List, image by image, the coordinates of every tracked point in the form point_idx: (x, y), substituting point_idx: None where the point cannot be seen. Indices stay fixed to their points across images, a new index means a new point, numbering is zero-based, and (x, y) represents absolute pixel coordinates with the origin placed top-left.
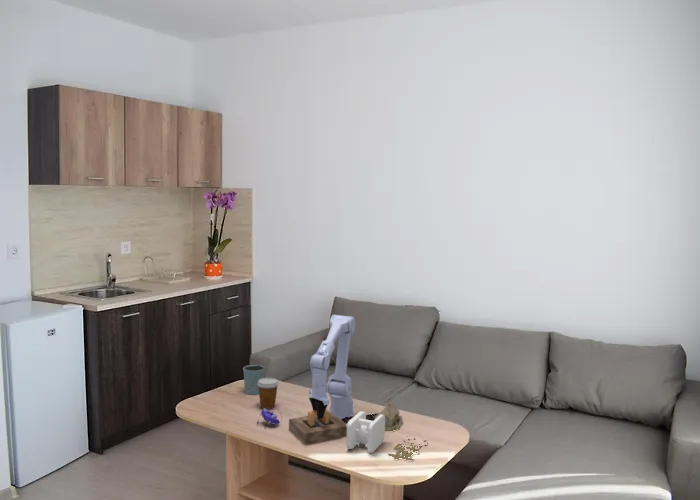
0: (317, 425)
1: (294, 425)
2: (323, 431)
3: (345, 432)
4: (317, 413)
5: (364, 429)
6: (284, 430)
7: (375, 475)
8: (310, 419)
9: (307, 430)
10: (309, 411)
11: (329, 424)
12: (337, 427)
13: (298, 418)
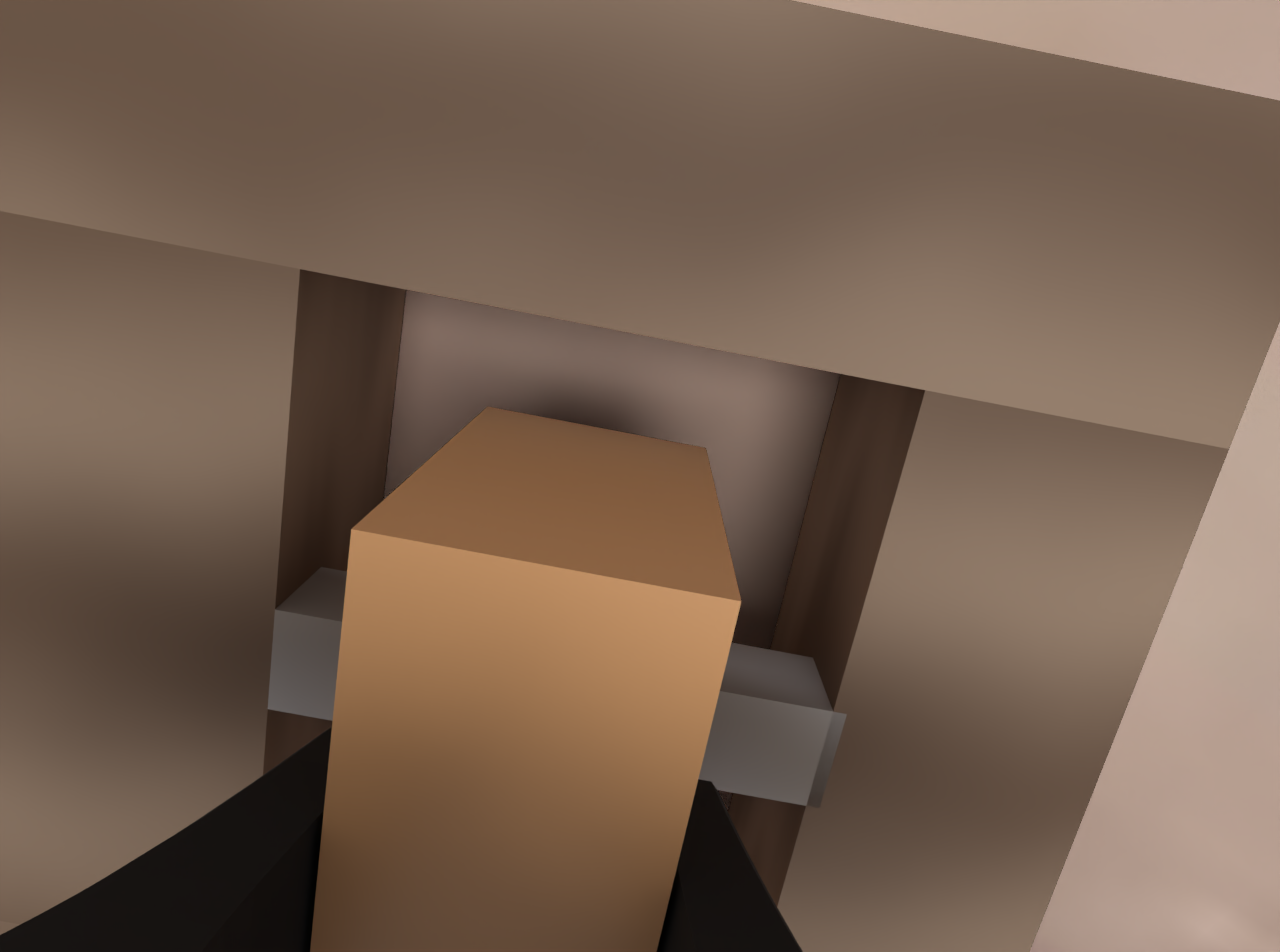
0: None
1: (871, 33)
2: (16, 488)
3: None
4: (271, 816)
5: None
6: (1187, 44)
7: None
8: (472, 462)
9: (180, 77)
10: (716, 680)
11: None
12: (5, 873)
13: (1162, 419)
